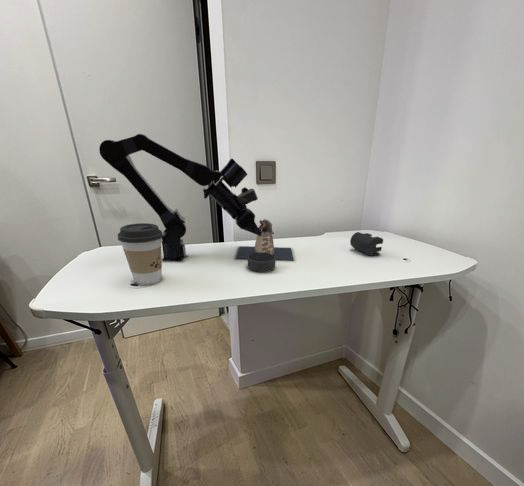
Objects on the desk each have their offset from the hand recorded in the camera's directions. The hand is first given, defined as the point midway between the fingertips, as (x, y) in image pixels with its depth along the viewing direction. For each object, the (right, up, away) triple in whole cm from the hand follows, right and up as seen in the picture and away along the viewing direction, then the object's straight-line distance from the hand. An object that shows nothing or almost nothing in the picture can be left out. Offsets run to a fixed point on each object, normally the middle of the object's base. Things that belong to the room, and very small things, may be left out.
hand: (257, 231), depth 102 cm
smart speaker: (+1, -14, -9) cm, 17 cm away
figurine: (+2, -7, +4) cm, 9 cm away
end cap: (+41, -6, +9) cm, 42 cm away
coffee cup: (-31, -19, -19) cm, 41 cm away
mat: (+3, -7, +4) cm, 9 cm away
